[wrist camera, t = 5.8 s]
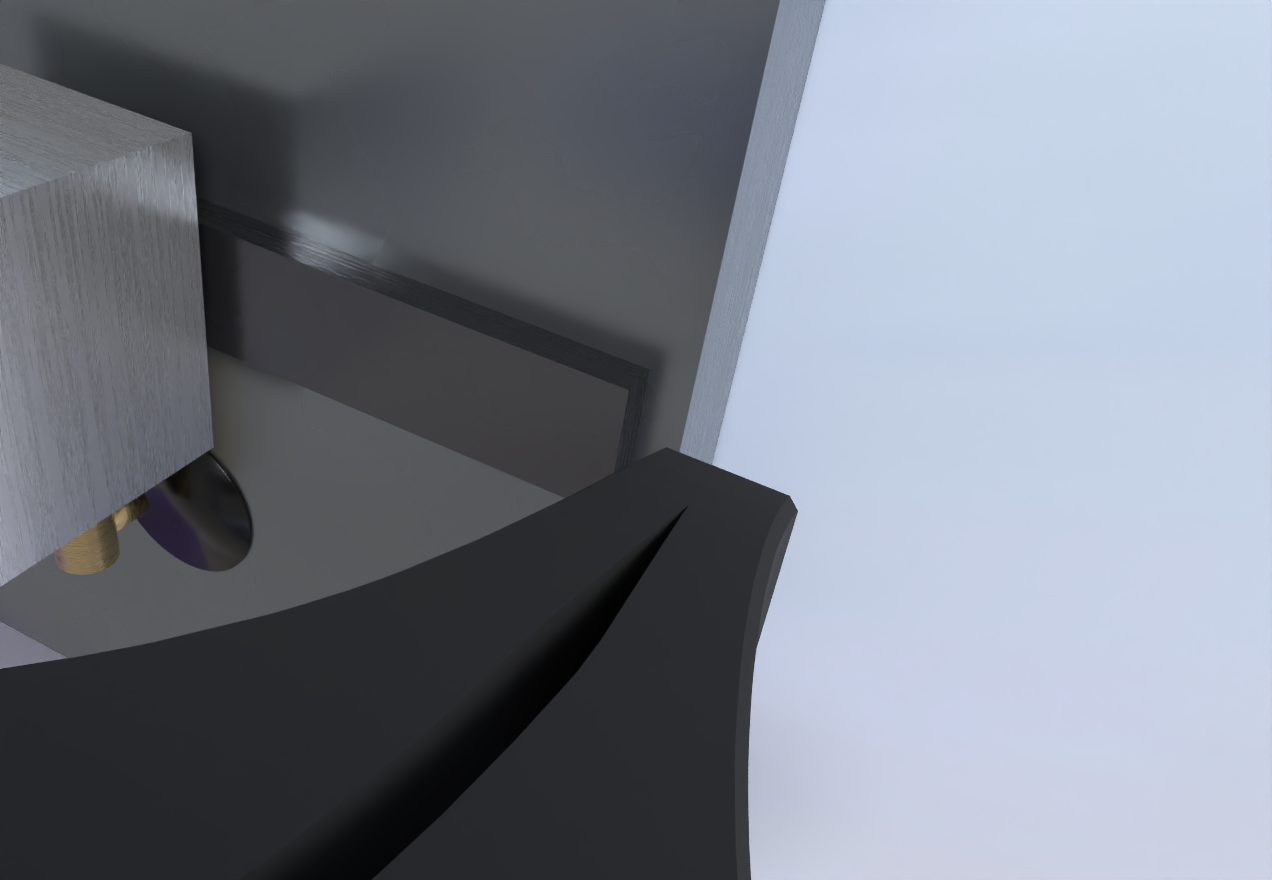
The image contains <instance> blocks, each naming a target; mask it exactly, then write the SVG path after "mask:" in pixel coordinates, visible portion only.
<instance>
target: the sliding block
mask: <svg viewBox="0 0 1272 880" xmlns="http://www.w3.org/2000/svg"><path fill="white" fill-rule="evenodd" d="M213 447H214V444H213V429H212V415H211V401H210V387H209V372H208V358H207V344H206V330H205V316H204V301H203V287H202V273H201V259H200V244H199V230H198V216H197V202H196V188H195V173H194V159H193V145H192V133H190V132H188V131H185V130H182V129H179V128H177V127H174V126H171V125H168V124H166V123H163V122H160V121H157V120H155V119H152V118H149V117H146V116H144V115H141V114H138V113H135V112H132V111H130V110H127V109H124V108H121V107H119V106H116V105H113V104H110V103H108V102H105V101H102V100H99V99H97V98H94V97H91V96H88V95H86V94H83V93H80V92H77V91H75V90H72V89H69V88H66V87H63V86H61V85H58V84H55V83H52V82H50V81H47V80H44V79H41V78H39V77H36V76H33V75H30V74H28V73H25V72H22V71H19V70H17V69H14V68H11V67H8V66H6V65H3V64H0V587H1V586H2V585H4V584H5V583H7V582H8V581H10V580H11V579H13V578H15V577H16V576H18V575H19V574H21V573H22V572H24V571H25V570H27V569H28V568H30V567H31V566H33V565H34V564H36V563H37V562H39V561H41V560H42V559H44V558H45V557H47V556H48V555H50V554H51V553H53V552H54V555H55V560H56V564H57V566H58V567H59V568H60V569H61V570H63V571H65V572H67V573H70V574H76V575H87V574H93V573H97V572H100V571H103V570H105V569H107V568H109V567H110V566H111V565H113V564H114V563H115V562H116V561H117V559H118V557H119V555H120V548H119V541H118V534H117V532H118V531H119V530H121V529H122V528H124V527H125V526H127V525H128V524H130V523H131V522H133V521H134V520H136V519H137V518H138V517H140V516H141V515H143V514H144V513H146V512H147V511H148V508H149V502H148V499H147V496H146V494H145V492H146V491H148V490H149V489H151V488H152V487H154V486H155V485H157V484H158V483H160V482H161V481H163V480H164V479H166V478H168V477H169V476H171V475H172V474H174V473H175V472H177V471H178V470H180V469H181V468H183V467H184V466H186V465H187V464H189V463H191V462H192V461H194V460H195V459H197V458H198V457H200V456H201V455H203V454H204V453H206V452H207V451H209V450H210V449H212V448H213Z"/></svg>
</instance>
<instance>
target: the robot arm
mask: <svg viewBox="0 0 1272 880" xmlns="http://www.w3.org/2000/svg"><path fill="white" fill-rule="evenodd" d="M797 513H798V510H797V509H796V507H795V505H794V503H793V501H792V499H791V497H790V496H789V495H786V494H784V493H781V492H779V491H776V490H773V489H771V488H768V487H766V486H763V485H761V484H758V483H756V482H753V481H751V480H748V479H746V478H743V477H741V476H738V475H736V474H733V473H730V472H728V471H725V470H723V469H720V468H718V467H715V466H713V465H710V464H708V463H705V462H703V461H700V460H698V459H695V458H693V457H690V456H688V455H685V454H682V453H680V452H677V451H675V450H672V449H670V448H667V447H666V448H663V449H661V450H659V451H656V452H654V453H652V454H650V455H648V456H646V457H644V458H642V459H640V460H638V461H636V462H634V463H632V464H630V465H628V466H626V467H624V468H623V469H621V470H619V471H617V472H615V473H613V474H611V475H609V476H607V477H605V478H603V479H601V480H600V481H598V482H596V483H594V484H592V485H590V486H588V487H586V488H584V489H582V490H580V491H578V492H576V493H574V494H572V495H570V496H568V497H566V498H564V499H562V500H560V501H558V502H556V503H554V504H552V505H550V506H548V507H546V508H544V509H542V510H540V511H537V512H535V513H533V514H531V515H529V516H527V517H525V518H523V519H521V520H519V521H516V522H514V523H512V524H510V525H508V526H506V527H504V528H502V529H500V530H498V531H495V532H493V533H491V534H489V535H487V536H484V537H482V538H480V539H478V540H475V541H473V542H471V543H468V544H466V545H463V546H461V547H458V548H456V549H454V550H451V551H449V552H446V553H444V554H441V555H439V556H437V557H434V558H432V559H429V560H427V561H425V562H422V563H420V564H417V565H415V566H412V567H410V568H408V569H405V570H403V571H400V572H397V573H395V574H392V575H389V576H387V577H384V578H381V579H379V580H376V581H373V582H370V583H368V584H365V585H362V586H359V587H356V588H353V589H350V590H347V591H344V592H341V593H338V594H335V595H331V596H328V597H325V598H322V599H318V600H315V601H312V602H309V603H306V604H302V605H299V606H296V607H293V608H289V609H286V610H282V611H279V612H275V613H272V614H268V615H264V616H260V617H256V618H252V619H247V620H243V621H239V622H235V623H231V624H227V625H223V626H218V627H214V628H210V629H206V630H202V631H198V632H193V633H189V634H185V635H181V636H177V637H173V638H169V639H164V640H160V641H156V642H152V643H147V644H142V645H137V646H132V647H127V648H121V649H116V650H111V651H105V652H100V653H95V654H89V655H84V656H78V657H73V658H67V659H61V660H54V661H48V662H42V663H35V664H29V665H23V666H16V667H10V668H3V669H0V880H751V871H750V852H749V818H748V755H749V729H750V711H751V694H752V683H753V672H754V662H755V655H756V648H757V645H758V641H759V638H760V635H761V631H762V628H763V625H764V622H765V618H766V615H767V612H768V608H769V605H770V602H771V598H772V595H773V592H774V589H775V585H776V582H777V579H778V575H779V572H780V569H781V565H782V562H783V559H784V555H785V552H786V549H787V546H788V542H789V539H790V536H791V532H792V529H793V526H794V522H795V519H796V516H797Z"/></svg>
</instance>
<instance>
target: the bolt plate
mask: <svg viewBox="0 0 1272 880" xmlns="http://www.w3.org/2000/svg"><path fill="white" fill-rule="evenodd" d="M824 5H825V0H0V64H3V65H6V66H8V67H11V68H14V69H17V70H19V71H22V72H25V73H28V74H30V75H33V76H36V77H39V78H41V79H44V80H47V81H50V82H52V83H55V84H58V85H61V86H63V87H66V88H69V89H72V90H75V91H77V92H80V93H83V94H86V95H88V96H91V97H94V98H97V99H99V100H102V101H105V102H108V103H110V104H113V105H116V106H119V107H121V108H124V109H127V110H130V111H132V112H135V113H138V114H141V115H144V116H146V117H149V118H152V119H155V120H157V121H160V122H163V123H166V124H168V125H171V126H174V127H177V128H179V129H182V130H185V131H188V132H190V133H192V145H193V159H194V173H195V188H196V202H197V216H198V230H199V244H200V259H201V273H202V287H203V301H204V316H205V330H206V344H207V358H208V372H209V387H210V401H211V415H212V429H213V444H214V447H213V448H212V449H210V450H209V451H207V452H206V453H204V454H203V455H201V456H200V457H198V458H197V459H195V460H194V461H192V462H191V463H189V464H187V465H186V466H184V467H183V468H181V469H180V470H178V471H177V472H175V473H174V474H172V475H171V476H169V477H168V478H166V479H164V480H163V481H161V482H160V483H158V484H157V485H155V486H154V487H152V488H151V489H149V490H148V491H146V492H145V494H146V496H147V499H148V502H149V508H148V511H147V512H146V513H144V514H143V515H141V516H140V517H138V518H137V519H136V520H134V521H133V522H131V523H130V524H128V525H127V526H125V527H124V528H122V529H121V530H119V531H118V532H117V534H118V541H119V548H120V555H119V557H118V559H117V561H116V562H115V563H114V564H113V565H111V566H110V567H109V568H107V569H105V570H103V571H100V572H97V573H93V574H87V575H76V574H70V573H67V572H65V571H63V570H61V569H60V568H59V567H58V566H57V564H56V560H55V555H54V552H53V553H51V554H50V555H48V556H47V557H45V558H44V559H42V560H41V561H39V562H37V563H36V564H34V565H33V566H31V567H30V568H28V569H27V570H25V571H24V572H22V573H21V574H19V575H18V576H16V577H15V578H13V579H11V580H10V581H8V582H7V583H5V584H4V585H2V586H1V587H0V621H1V622H3V623H5V624H7V625H9V626H10V627H12V628H14V629H16V630H18V631H20V632H22V633H23V634H25V635H27V636H29V637H31V638H33V639H34V640H36V641H38V642H40V643H42V644H44V645H45V646H47V647H49V648H51V649H53V650H55V651H57V652H58V653H60V654H62V655H64V656H66V657H68V658H73V657H78V656H84V655H89V654H95V653H100V652H105V651H111V650H116V649H121V648H127V647H132V646H137V645H142V644H147V643H152V642H156V641H160V640H164V639H169V638H173V637H177V636H181V635H185V634H189V633H193V632H198V631H202V630H206V629H210V628H214V627H218V626H223V625H227V624H231V623H235V622H239V621H243V620H247V619H252V618H256V617H260V616H264V615H268V614H272V613H275V612H279V611H282V610H286V609H289V608H293V607H296V606H299V605H302V604H306V603H309V602H312V601H315V600H318V599H322V598H325V597H328V596H331V595H335V594H338V593H341V592H344V591H347V590H350V589H353V588H356V587H359V586H362V585H365V584H368V583H370V582H373V581H376V580H379V579H381V578H384V577H387V576H389V575H392V574H395V573H397V572H400V571H403V570H405V569H408V568H410V567H412V566H415V565H417V564H420V563H422V562H425V561H427V560H429V559H432V558H434V557H437V556H439V555H441V554H444V553H446V552H449V551H451V550H454V549H456V548H458V547H461V546H463V545H466V544H468V543H471V542H473V541H475V540H478V539H480V538H482V537H484V536H487V535H489V534H491V533H493V532H495V531H498V530H500V529H502V528H504V527H506V526H508V525H510V524H512V523H514V522H516V521H519V520H521V519H523V518H525V517H527V516H529V515H531V514H533V513H535V512H537V511H540V510H542V509H544V508H546V507H548V506H550V505H552V504H554V503H556V502H558V501H560V500H562V499H564V498H566V497H568V496H570V495H572V494H574V493H576V492H578V491H580V490H582V489H584V488H586V487H588V486H590V485H592V484H594V483H596V482H598V481H600V480H601V479H603V478H605V477H607V476H609V475H611V474H613V473H615V472H617V471H619V470H621V469H623V468H624V467H626V466H628V465H630V464H632V463H634V462H636V461H638V460H640V459H642V458H644V457H646V456H648V455H650V454H652V453H654V452H656V451H659V450H661V449H663V448H666V447H667V448H670V449H672V450H675V451H677V452H680V453H682V454H685V455H688V456H690V457H693V458H695V459H698V460H700V461H703V462H705V463H708V464H710V465H712V462H713V458H714V453H715V449H716V445H717V441H718V437H719V433H720V429H721V425H722V421H723V417H724V413H725V409H726V404H727V400H728V396H729V392H730V388H731V384H732V380H733V376H734V372H735V368H736V364H737V360H738V356H739V351H740V347H741V343H742V339H743V335H744V331H745V327H746V323H747V319H748V315H749V311H750V307H751V302H752V298H753V294H754V290H755V286H756V282H757V278H758V274H759V270H760V266H761V262H762V258H763V253H764V249H765V245H766V241H767V237H768V233H769V229H770V225H771V221H772V217H773V213H774V209H775V205H776V200H777V196H778V192H779V188H780V184H781V180H782V176H783V172H784V168H785V164H786V160H787V156H788V151H789V147H790V143H791V139H792V135H793V131H794V127H795V123H796V119H797V115H798V111H799V107H800V102H801V98H802V94H803V90H804V86H805V82H806V78H807V74H808V70H809V66H810V62H811V58H812V53H813V49H814V45H815V41H816V37H817V33H818V29H819V25H820V21H821V17H822V13H823V9H824Z"/></svg>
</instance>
